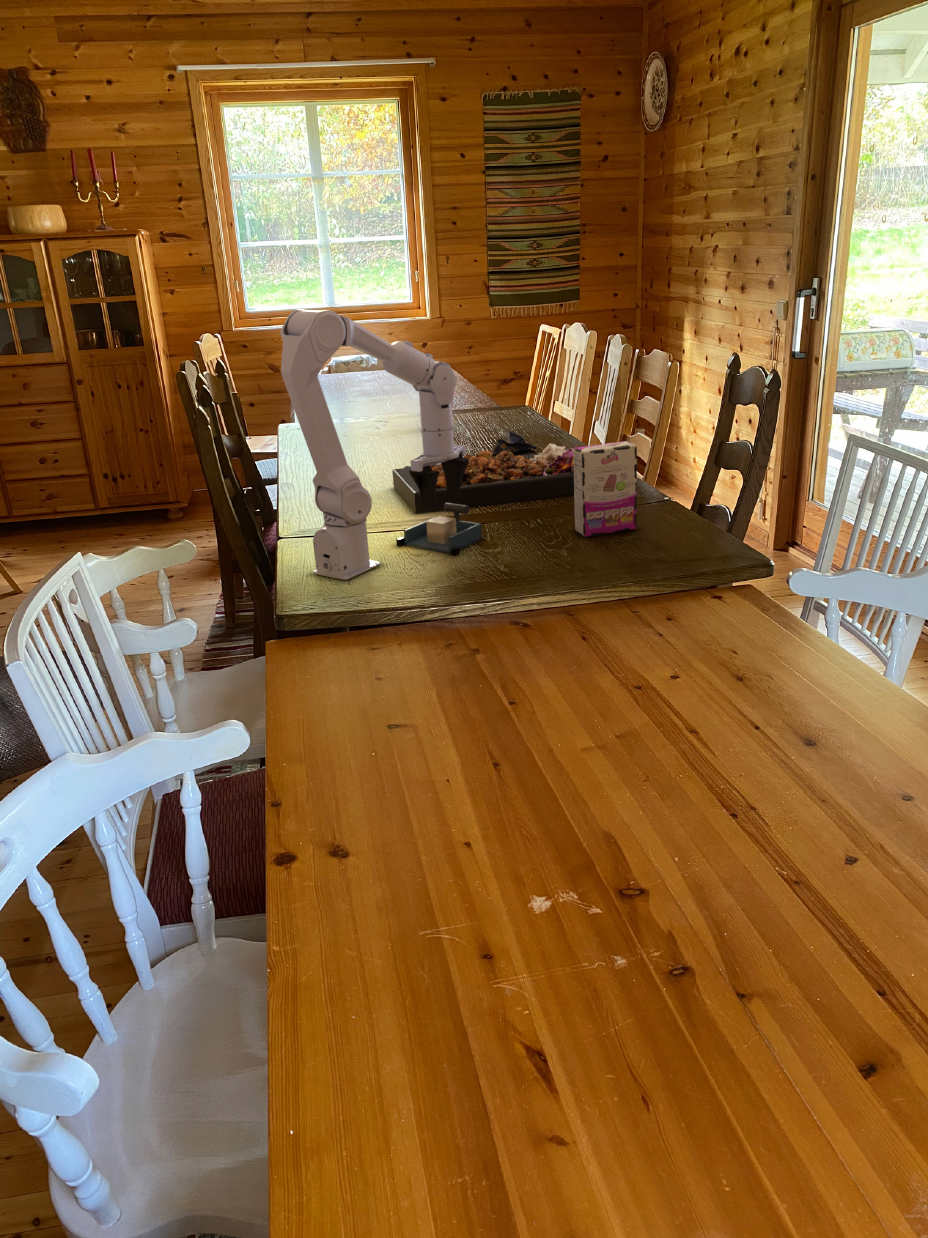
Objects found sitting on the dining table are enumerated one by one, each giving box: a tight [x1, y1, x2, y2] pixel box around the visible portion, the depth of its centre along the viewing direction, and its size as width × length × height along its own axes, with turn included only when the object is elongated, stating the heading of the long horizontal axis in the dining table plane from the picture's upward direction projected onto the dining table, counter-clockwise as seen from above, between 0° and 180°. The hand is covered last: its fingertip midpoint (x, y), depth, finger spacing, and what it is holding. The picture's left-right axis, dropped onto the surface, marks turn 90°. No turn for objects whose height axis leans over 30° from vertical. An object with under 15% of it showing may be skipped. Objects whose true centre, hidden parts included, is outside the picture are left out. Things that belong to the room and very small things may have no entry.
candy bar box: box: [573, 440, 638, 538], centre depth 173 cm, size 11×5×16 cm, turn 106°
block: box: [425, 515, 457, 544], centre depth 173 cm, size 4×4×4 cm
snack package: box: [490, 430, 537, 456], centre depth 246 cm, size 12×6×12 cm
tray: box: [403, 503, 483, 554], centre depth 174 cm, size 10×11×6 cm
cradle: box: [395, 536, 461, 557], centre depth 171 cm, size 2×14×1 cm, turn 54°
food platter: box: [391, 443, 578, 514], centre depth 209 cm, size 45×25×10 cm, turn 105°
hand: (441, 501), depth 172 cm, fingers open, 7 cm apart
